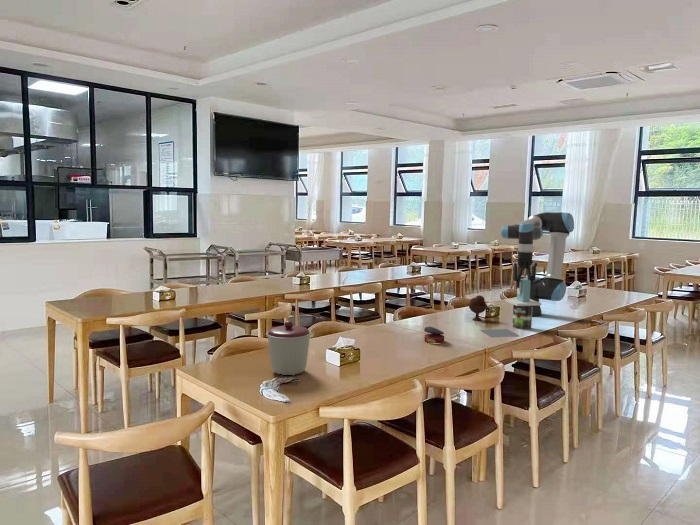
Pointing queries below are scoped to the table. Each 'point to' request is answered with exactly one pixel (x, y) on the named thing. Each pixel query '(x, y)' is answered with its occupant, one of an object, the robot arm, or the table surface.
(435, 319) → the table surface
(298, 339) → the canister
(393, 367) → the table surface
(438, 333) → the canned food
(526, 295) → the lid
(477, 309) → the ice cream bowl
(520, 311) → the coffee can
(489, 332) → the mat
